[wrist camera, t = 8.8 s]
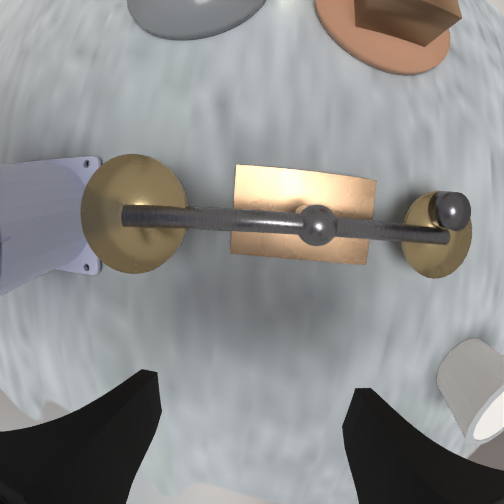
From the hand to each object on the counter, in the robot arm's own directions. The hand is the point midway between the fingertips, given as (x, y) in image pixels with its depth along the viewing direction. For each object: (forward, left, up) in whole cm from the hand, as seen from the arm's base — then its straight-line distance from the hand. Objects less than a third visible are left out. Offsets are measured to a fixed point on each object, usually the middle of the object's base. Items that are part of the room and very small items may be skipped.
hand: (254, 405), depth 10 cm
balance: (+2, +6, -9) cm, 11 cm away
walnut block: (+7, +21, -8) cm, 24 cm away
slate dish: (-6, +22, -9) cm, 25 cm away
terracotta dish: (+7, +21, -9) cm, 24 cm away
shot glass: (+18, -5, -10) cm, 21 cm away
